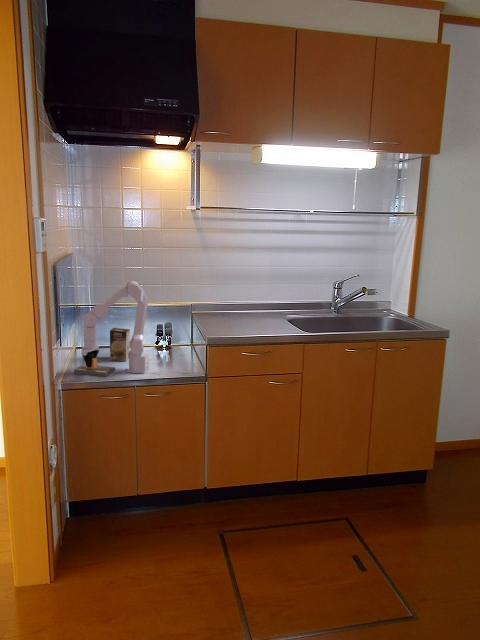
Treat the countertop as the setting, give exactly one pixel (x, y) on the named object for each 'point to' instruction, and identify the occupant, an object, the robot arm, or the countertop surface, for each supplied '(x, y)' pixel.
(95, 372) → the switch panel
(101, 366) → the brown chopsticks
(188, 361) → the countertop surface
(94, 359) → the knob
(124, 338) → the coffee box
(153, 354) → the countertop surface
